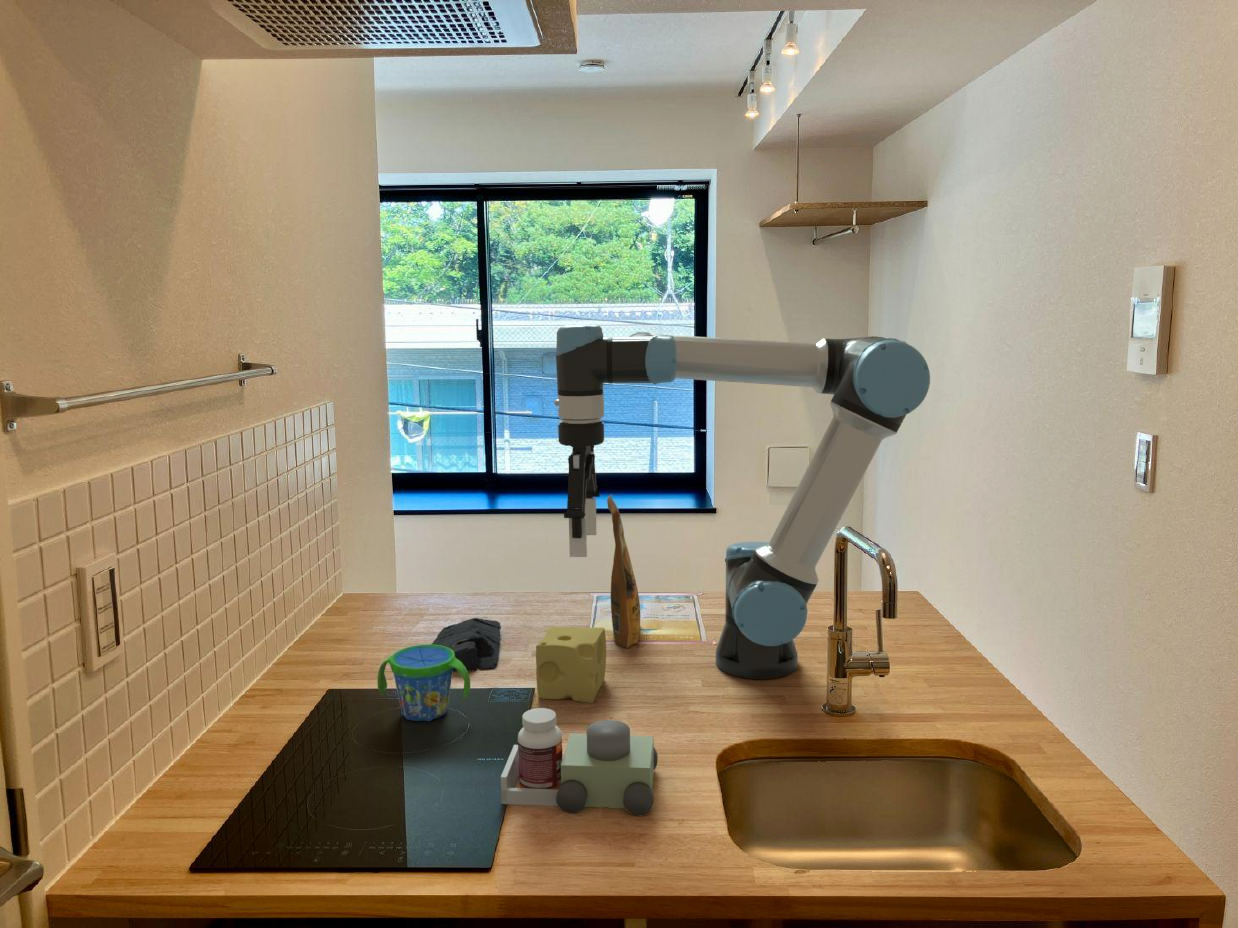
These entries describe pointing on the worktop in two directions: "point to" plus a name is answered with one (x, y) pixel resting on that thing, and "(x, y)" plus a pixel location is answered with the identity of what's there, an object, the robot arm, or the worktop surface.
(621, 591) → the pancake mix bag
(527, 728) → the pill bottle
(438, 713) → the snack cup
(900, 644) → the worktop surface
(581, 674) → the cheese
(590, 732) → the toy lawn mower
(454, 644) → the dark slate chunk
